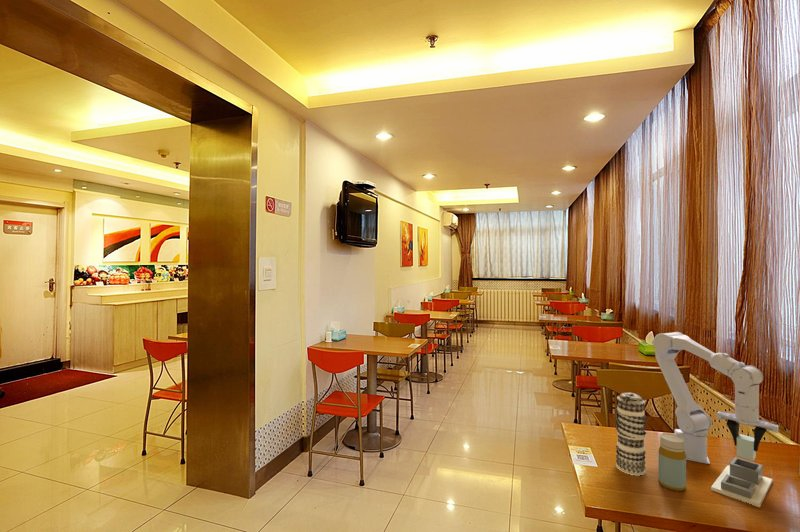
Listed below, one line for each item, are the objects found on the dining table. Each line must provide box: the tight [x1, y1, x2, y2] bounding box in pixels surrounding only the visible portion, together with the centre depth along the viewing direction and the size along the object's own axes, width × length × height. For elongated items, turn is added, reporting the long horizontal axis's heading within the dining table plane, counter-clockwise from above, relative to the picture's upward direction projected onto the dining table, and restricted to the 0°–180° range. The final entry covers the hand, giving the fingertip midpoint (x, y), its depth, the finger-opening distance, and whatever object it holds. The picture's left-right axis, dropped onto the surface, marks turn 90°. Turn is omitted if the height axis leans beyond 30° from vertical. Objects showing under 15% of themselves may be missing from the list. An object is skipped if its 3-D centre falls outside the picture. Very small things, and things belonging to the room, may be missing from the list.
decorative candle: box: [614, 392, 648, 477], centre depth 132 cm, size 9×9×25 cm
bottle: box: [657, 432, 687, 492], centre depth 122 cm, size 7×7×15 cm
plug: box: [736, 433, 757, 462], centre depth 125 cm, size 5×4×6 cm
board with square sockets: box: [710, 456, 773, 508], centre depth 122 cm, size 20×11×5 cm, turn 129°
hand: (746, 447), depth 125 cm, fingers closed on plug, 4 cm apart
